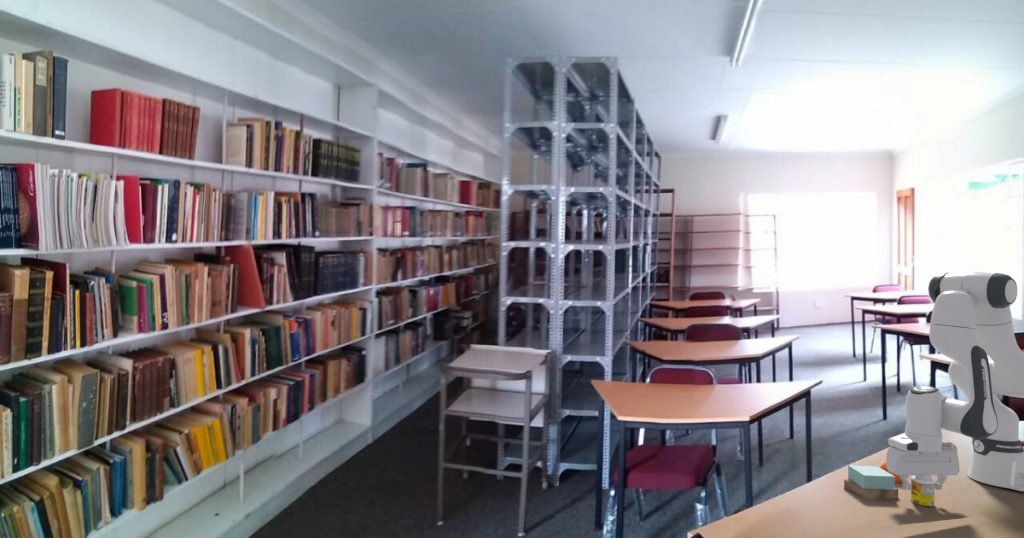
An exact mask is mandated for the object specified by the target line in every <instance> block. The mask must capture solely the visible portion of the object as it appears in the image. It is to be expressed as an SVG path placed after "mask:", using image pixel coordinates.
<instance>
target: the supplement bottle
mask: <svg viewBox="0 0 1024 538" xmlns="http://www.w3.org/2000/svg"><path fill="white" fill-rule="evenodd" d="M910 480H911V482H910V484H912V490H910V494H911V495H910V500H911V503H912V504H914V505H916V506H919V507H924V508H933V507H935V490H936V489H935V483H934V482H935V480H934V479H932V475H929V474H927V475H911V478H910Z"/></svg>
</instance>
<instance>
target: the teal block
mask: <svg viewBox="0 0 1024 538" xmlns="http://www.w3.org/2000/svg"><path fill="white" fill-rule="evenodd" d="M847 468H848V469H847V479H850V480H852V481H853V482H855V483H856V484H858V485H859V486H861V487H862V488H864V489H883V490H895V488H896V482H895V476H893V475H891V474H890V473H888V472H886V471H885V470H883V469H881V468H880V467H879V466H876V465H875V466H872V465H850V464H849V465H848V466H847Z"/></svg>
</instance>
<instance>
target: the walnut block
mask: <svg viewBox="0 0 1024 538" xmlns="http://www.w3.org/2000/svg"><path fill="white" fill-rule="evenodd" d="M843 488H844V489H845V490H848V491H850V492H852V493H854V494H856V495H858V496H861V497H862V498H865V499H867V500H870V501H878V500H879V501H880V500H889V499H890V500H891V499H899V488H898V487H895V490H883V489H864V488H862V487H861V486H859V485H858V484H856V483H855V482H853V481H852V480H850V479H849V478H846V479H845V478H844V479H843Z"/></svg>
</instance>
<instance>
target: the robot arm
mask: <svg viewBox="0 0 1024 538" xmlns="http://www.w3.org/2000/svg"><path fill="white" fill-rule="evenodd" d="M928 296H929V297H930V299H931V300H932V302H933V304H934V305H933V307H932V312H931V317H930V325H929V335H928V337H929V342H930V344H931V345H932V347H933V348H934V350H935V351H937V352H938V353H940V354H941V355H943V356H945V357H947V358H949V359H950V360H951V363H950V364H949V366H948V370H947V372H948V378H949V379H950V381H951V382H952V384H953V385H954V386H956V387H957V388H958V389H959V390H960V391H962V393H964V394H963V395H965V396H966V398H967V400H968V401H967V400H960V399H956V398H952V397H948V396H946V395H944V394H942V393H941V392H940V390H939V388H937V387H934V386H929V385H917V386H913V387H910V388H909V390H908V392H907V395H906V400H905V418H906V419H905V420H906V425H905V428H904V432H903V433H901V434H898V435H895V436H891V437H889V438H888V440H887V441H888V442H887V443H888V445H889V447H888V448H887V451H886V456H885V457H886V458H885V459H886V460H885V463H886V467H887V469H888V471H889V472H891V473H893V474H895V475H899V477H900V479H901V480H902V482H901V483H902V489H904V490H907V491H909V490H910V491H911V490H912V484H911V482H909V480H908V479H909V478H910V476H915V475H927V474H929V475H931V476H937V478H936V481H934V483H935V490H936V491H937V490H938V491H942V490H943V487H944V484H945V482H946V481H947V478H948V476H957V475H959V473H960V461H959V455H958V446H956V445H955V444H954V443H953V442H949V441H947V442H944V441H943V432H942V430H945V431H949V432H951V433H955V434H960V435H963V436H966V437H968V438H970V439H972V440H971V444H972V447H973V448H972V453H971V459H970V466H969V467H968V472H967V476H968V478H970V479H972V480H974V481H977V482H980V483H983V484H986V485H990V486H995V487H999V488H1005V489H1010V490H1015V491H1019V492H1024V440H1021V439H1020V418H1019V416H1018V415H1017V413H1016V412H1015V411H1014V410H1013V409H1012V408H1010V407H1008V406H1006V405H1005V404H1004V403H1002V402H1001V401H1000V400H999V397H998V395H1000V396H1005V397H1006V396H1008V397H1013V398H1021V399H1023V398H1024V353H1023V351H1022V350H1021V348H1020V346H1019V345H1018V343H1017V339H1016V336H1015V330H1014V325H1013V317H1012V311H1011V308H1010V306H1011V305H1012V304H1014V303H1015V301H1016V299H1017V297H1018V284H1017V283H1016V280H1015V279H1014V278H1013V277H1012V276H1011V275H1009V274H1005V273H999V272H995V273H991V272H982V271H981V272H980V271H969V272H952V273H950V272H944V273H943V272H942V273H938V274H935V275H934V276H933V277H932V278H931V279H930V281H929V282H928Z"/></svg>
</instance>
